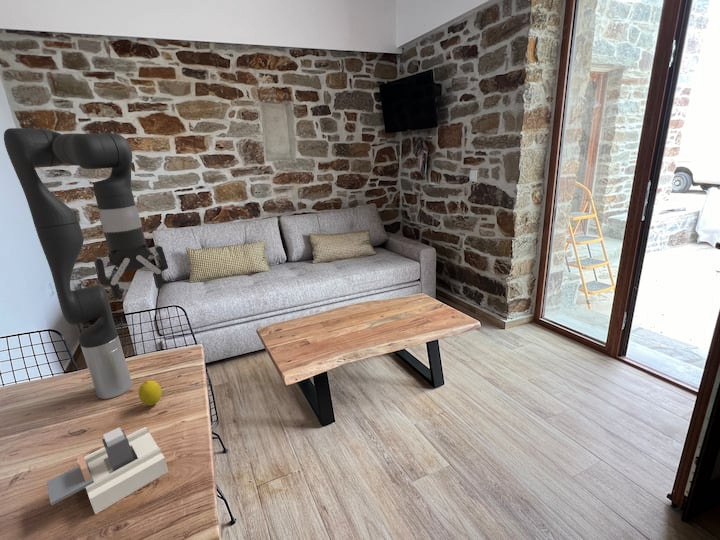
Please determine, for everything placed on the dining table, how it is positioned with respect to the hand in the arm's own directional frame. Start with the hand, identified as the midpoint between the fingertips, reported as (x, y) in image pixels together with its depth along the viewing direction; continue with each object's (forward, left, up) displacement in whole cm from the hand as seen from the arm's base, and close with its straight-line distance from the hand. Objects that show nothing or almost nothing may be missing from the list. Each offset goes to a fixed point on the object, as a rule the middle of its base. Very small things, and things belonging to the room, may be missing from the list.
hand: (139, 293), depth 89 cm
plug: (+12, -14, -36) cm, 40 cm away
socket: (+12, -14, -36) cm, 41 cm away
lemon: (-9, -2, -36) cm, 37 cm away
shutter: (+12, -23, -32) cm, 41 cm away
